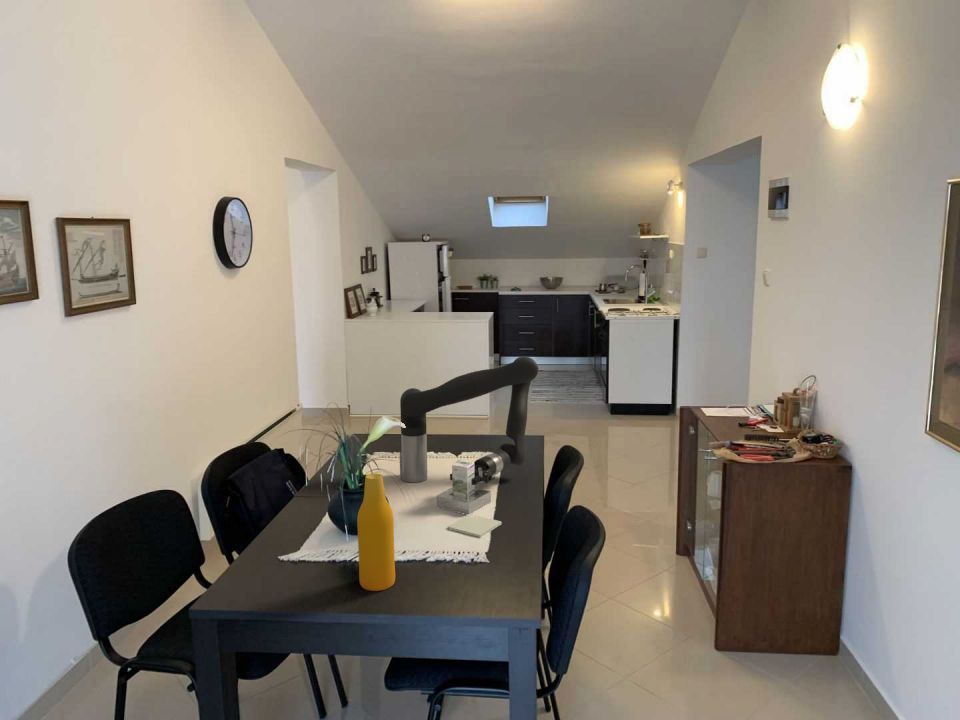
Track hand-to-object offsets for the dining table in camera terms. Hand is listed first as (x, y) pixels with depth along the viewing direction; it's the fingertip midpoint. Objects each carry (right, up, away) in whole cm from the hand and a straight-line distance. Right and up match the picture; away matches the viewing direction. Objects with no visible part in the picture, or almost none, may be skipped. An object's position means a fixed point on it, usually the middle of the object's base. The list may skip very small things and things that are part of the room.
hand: (461, 479), depth 240 cm
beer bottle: (-20, -19, -51) cm, 58 cm away
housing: (+1, -9, +3) cm, 9 cm away
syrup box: (+1, -9, +3) cm, 9 cm away
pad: (+4, -12, -15) cm, 20 cm away
